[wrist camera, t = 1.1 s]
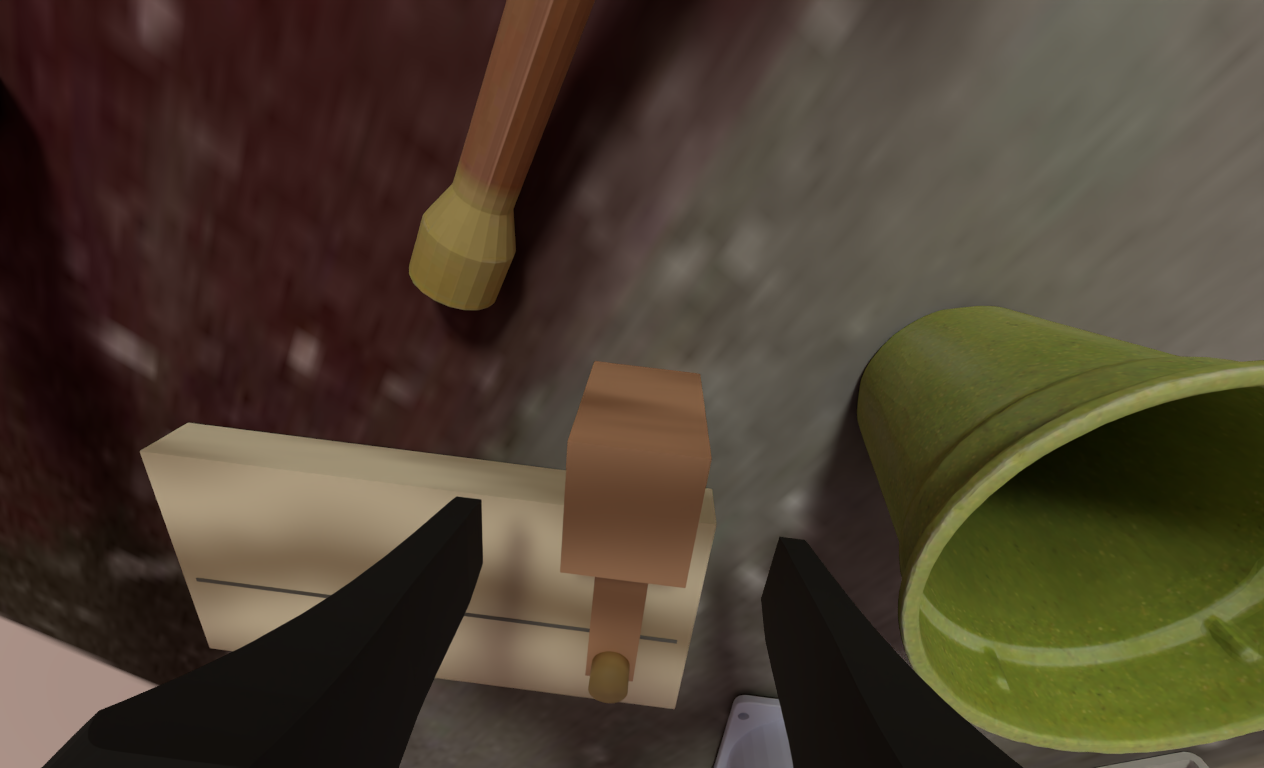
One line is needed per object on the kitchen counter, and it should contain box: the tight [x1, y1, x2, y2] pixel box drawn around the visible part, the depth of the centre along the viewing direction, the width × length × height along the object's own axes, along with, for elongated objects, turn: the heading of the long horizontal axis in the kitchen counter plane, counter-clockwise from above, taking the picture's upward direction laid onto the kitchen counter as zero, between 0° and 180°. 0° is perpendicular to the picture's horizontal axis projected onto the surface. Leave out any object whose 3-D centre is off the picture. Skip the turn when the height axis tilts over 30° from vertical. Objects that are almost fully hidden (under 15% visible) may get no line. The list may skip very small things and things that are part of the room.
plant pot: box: [857, 306, 1264, 754], centre depth 13 cm, size 9×9×9 cm
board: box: [140, 423, 716, 709], centre depth 21 cm, size 10×20×2 cm, turn 84°
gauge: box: [560, 361, 712, 703], centre depth 18 cm, size 11×4×5 cm, turn 174°
